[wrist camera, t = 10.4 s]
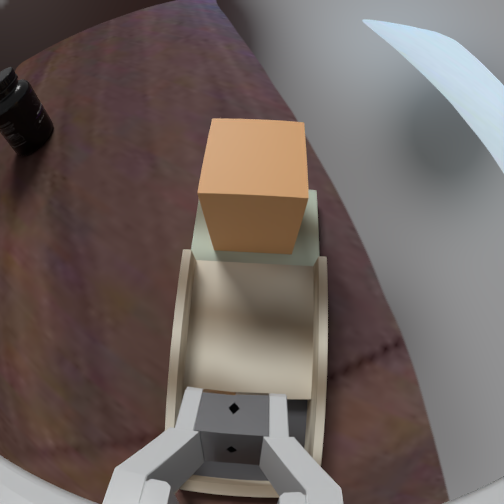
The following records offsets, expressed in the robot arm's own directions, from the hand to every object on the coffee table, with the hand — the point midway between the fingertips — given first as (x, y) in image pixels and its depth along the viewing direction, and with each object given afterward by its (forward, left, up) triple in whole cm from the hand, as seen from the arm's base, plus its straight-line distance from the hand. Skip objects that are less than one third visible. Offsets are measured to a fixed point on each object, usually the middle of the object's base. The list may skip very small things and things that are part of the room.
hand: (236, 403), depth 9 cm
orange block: (+13, 0, -12) cm, 18 cm away
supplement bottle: (+26, +31, -14) cm, 43 cm away
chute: (+4, 0, -13) cm, 14 cm away
